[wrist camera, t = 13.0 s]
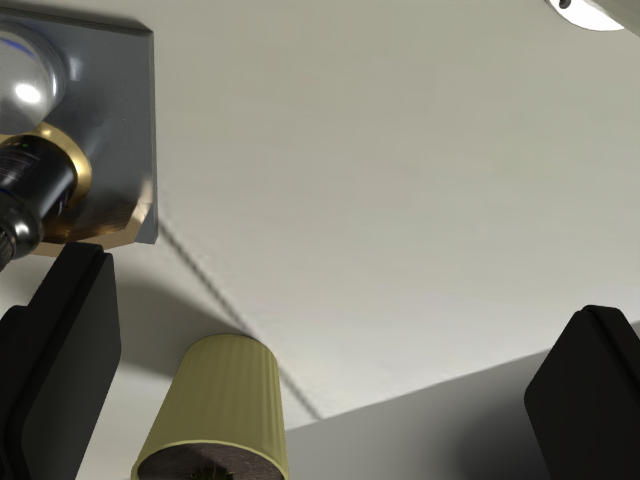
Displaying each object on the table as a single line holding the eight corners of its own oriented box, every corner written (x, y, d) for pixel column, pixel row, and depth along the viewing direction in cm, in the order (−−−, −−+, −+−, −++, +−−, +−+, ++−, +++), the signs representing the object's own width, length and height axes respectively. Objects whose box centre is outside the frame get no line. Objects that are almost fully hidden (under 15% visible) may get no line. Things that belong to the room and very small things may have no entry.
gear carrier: (153, 32, 41) (133, 55, 36) (158, 235, 52) (143, 271, 48) (-123, -13, 39) (-179, 6, 34) (-54, 208, 50) (-90, 244, 46)
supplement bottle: (88, 202, 48) (31, 294, 38) (11, 199, 48) (-66, 291, 38) (70, 132, 44) (1, 215, 34) (-15, 128, 44) (-109, 211, 34)
